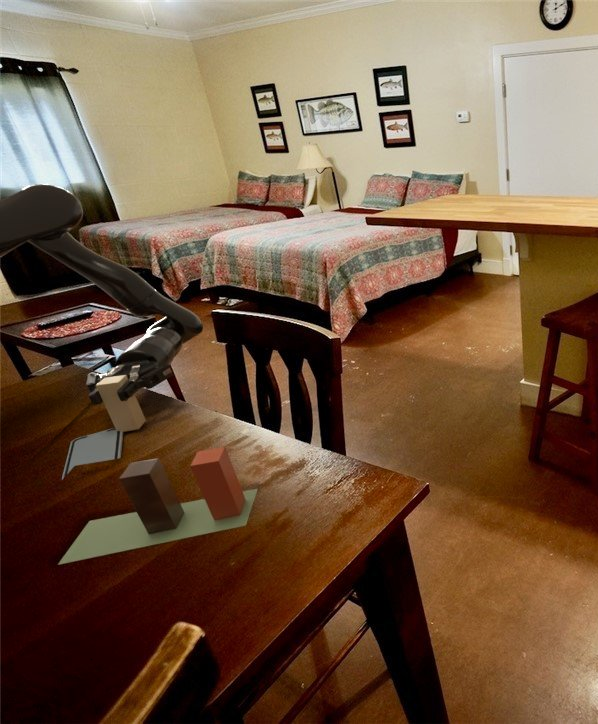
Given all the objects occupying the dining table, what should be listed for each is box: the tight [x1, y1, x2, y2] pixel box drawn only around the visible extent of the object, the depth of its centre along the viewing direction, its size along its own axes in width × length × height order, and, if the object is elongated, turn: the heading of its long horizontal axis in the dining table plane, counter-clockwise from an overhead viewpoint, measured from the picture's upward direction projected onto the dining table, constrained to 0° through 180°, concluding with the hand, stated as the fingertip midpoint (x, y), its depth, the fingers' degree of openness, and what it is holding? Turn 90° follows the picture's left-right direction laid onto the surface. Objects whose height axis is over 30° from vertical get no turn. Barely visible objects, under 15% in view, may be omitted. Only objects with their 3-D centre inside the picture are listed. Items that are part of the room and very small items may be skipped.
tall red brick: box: [189, 446, 246, 520], centre depth 68 cm, size 3×3×10 cm
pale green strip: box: [57, 488, 259, 566], centre depth 68 cm, size 22×8×1 cm, turn 107°
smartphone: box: [61, 427, 124, 481], centre depth 83 cm, size 7×1×15 cm
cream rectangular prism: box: [96, 375, 146, 433], centre depth 88 cm, size 3×3×10 cm
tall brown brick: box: [118, 457, 184, 534], centre depth 66 cm, size 3×3×10 cm
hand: (108, 398), depth 85 cm, fingers closed on cream rectangular prism, 3 cm apart
